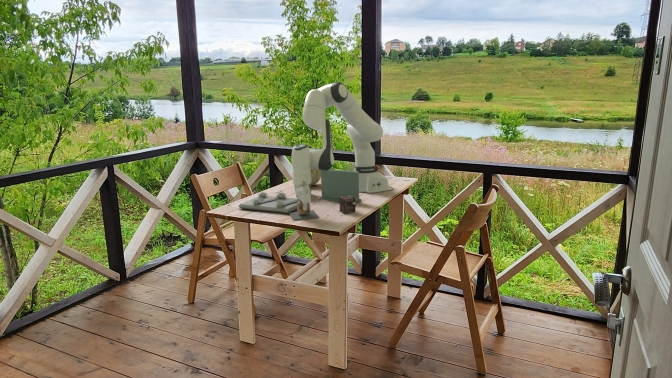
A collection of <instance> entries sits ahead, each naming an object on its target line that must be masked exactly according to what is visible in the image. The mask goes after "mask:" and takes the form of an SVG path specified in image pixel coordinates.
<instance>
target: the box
mask: <svg viewBox="0 0 672 378" xmlns="http://www.w3.org/2000/svg"><path fill="white" fill-rule="evenodd" d="M338 203H339V204H338V206H339V209H338V210H339V212H340V213H342V214H344V215H348V214H353V213H354V212H355V213H356V204H355V198H354V197H352V196H342V197H339V202H338Z"/></svg>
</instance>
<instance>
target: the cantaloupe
mask: <svg viewBox="0 0 672 378" xmlns="http://www.w3.org/2000/svg"><path fill="white" fill-rule="evenodd" d="M311 178H312V183H311V187H312V186H315V185H317V183H319V182H320V181H321V170H311Z"/></svg>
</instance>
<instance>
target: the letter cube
mask: <svg viewBox="0 0 672 378" xmlns="http://www.w3.org/2000/svg"><path fill="white" fill-rule="evenodd" d="M310 204H311V203H308V204H307V210H303V203H302V201H297V209H296V210H297V211H296V212H298V213H299V214H305V213H310V210H311V207H310V206H311V205H310Z"/></svg>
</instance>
